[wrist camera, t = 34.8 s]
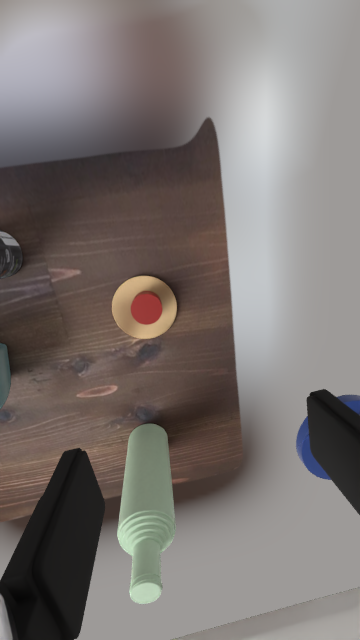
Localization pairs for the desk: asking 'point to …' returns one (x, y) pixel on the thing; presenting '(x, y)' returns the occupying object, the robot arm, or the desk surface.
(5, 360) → the flower pot
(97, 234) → the desk surface
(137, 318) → the cap
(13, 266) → the pill bottle
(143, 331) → the coaster
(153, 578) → the bottle
